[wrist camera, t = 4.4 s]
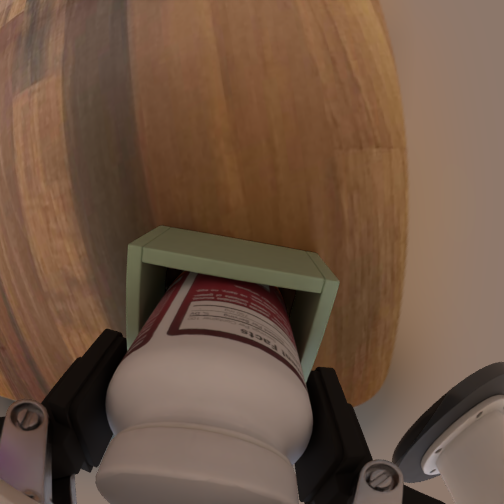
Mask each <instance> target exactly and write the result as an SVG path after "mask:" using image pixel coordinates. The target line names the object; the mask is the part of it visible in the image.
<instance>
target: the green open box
mask: <svg viewBox="0 0 504 504" xmlns="http://www.w3.org/2000/svg"><path fill="white" fill-rule="evenodd" d="M167 267H169V268H174V269H179V270H185V271H190V272H195V273H201V274H206V275H212V276H217V277H223V278H228V279H234V280H240V281H246V282H251V283H257V284H263V285H269V286H275V287H282V288H288V289H294V290H296V294H295V298H294V302H293V306H292V310H291V314H290V317H289V321H290V325H291V329H292V333H293V337H294V340H295V344H296V348H297V352H298V356H299V360H300V364H301V368H302V371H303V375H304V379H305V383H306V382H307V379H308V376H309V374H310V372H311V369H312V366H313V364H314V361H315V358H316V355H317V352H318V350H319V347H320V344H321V341H322V338H323V335H324V332H325V329H326V326H327V323H328V320H329V317H330V313H331V310H332V307H333V304H334V300H335V297H336V294H337V290H338V287H339V283H340V281H339V280H338V279H337V278H336V276H335V275H334V274H333V273H332V271H331V270H330V269H329V268H328V266H327V265H326V264H325V263H324V261H323V260H322V259H321V258H320V256H319V255H318V254H317V253H314V252H308V251H307V252H305V251H303V250H297V249H292V248H286V247H281V246H275V245H270V244H264V243H259V242H253V241H247V240H242V239H236V238H230V237H225V236H219V235H213V234H208V233H202V232H196V231H190V230H184V229H179V228H173V227H172V228H170V227H167V226H159V227H157V228H155V229H153V230H152V231H150V232H148V233H147V234H145V235H143V236H141V237H140V238H138V239H136V240H135V241H133V242H131V243H130V244H129V245H128V255H127V278H126V336H127V351H128V350H129V348H130V347H131V345H132V343H133V342H134V340H135V339H136V337H137V335H138V334H139V332H140V331H141V329H142V328H143V326H144V325H145V323H146V322H147V320H148V319H149V317H150V315H151V314H152V312H153V311H154V309H155V308H156V306H157V305H158V303H159V302H160V300H161V299H162V297H163V296H164V294H165V281H166V270H167Z"/></svg>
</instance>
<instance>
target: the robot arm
mask: <svg viewBox="0 0 504 504" xmlns="http://www.w3.org/2000/svg"><path fill="white" fill-rule="evenodd" d="M126 353H127V340H126V338H124V337H123V335H122V333H121V332H117V331H113V330H110V329H105V330H104V331H103V333H102V334H101V335H100V336H99V337H98V338H97V340H96V341H95V342H94V343H93V344H92V346H91V347H90V348H89V349H88V350H87V352H86V353H85V354H84V355H83V356H82V357H79V358H77V359H76V360H75V361H74V363H73V364H72V365H71V366H70V367H69V369H68V370H67V371H66V372H65V373H64V375H63V376H62V377H61V378H60V380H59V381H58V382H57V383H56V385H55V386H54V387H53V388H52V390H51V391H50V392H49V394H48V395H47V396H46V397H45V399H44V400H43V401H42V403H39V402H38V401H36V400H32V399H21V400H17V401H15V402H14V403H12V404H11V405H10V406H9V408H8V410H7V413H6V416H5V417H0V504H77V501H76V488H75V474H78V473H79V471H80V469H83V470H85V471H88V472H91V470H92V468H93V466H94V467H97V466H99V464H100V462H101V459H102V457H103V455H104V453H105V451H106V448H107V446H108V444H109V442H110V439H111V437H112V435H113V432H112V430H111V428H110V425H109V422H108V419H107V414H106V405H105V403H106V394H107V389H108V386H109V383H110V381H111V379H112V377H113V375H114V373H115V371H116V369H117V367H118V365H119V364H120V362H121V360H122V359H123V357H124V356H125V354H126ZM306 387H307V390H308V394H309V399H310V404H311V409H312V413H313V430H312V435H311V438H310V441H309V443H308V446H307V448H306V449H305V451H304V453H303V454H302V455H301V457H300V458H299V459H298V460H297V461H296V463H295V470H296V478H297V486H298V494H299V500H300V501H301V502H304V503H305V504H445V503H443V502H442V501H440V500H437V499H434V498H432V497H430V496H428V495H425V494H423V493H420V492H418V491H416V490H414V489H412V488H410V487H408V486H406V485H403V482H404V480H403V474H402V472H401V470H400V469H399V468H398V467H397V466H396V465H395V464H393V463H392V462H389V461H386V460H373V459H372V456H371V454H370V451H369V448H368V446H367V443H366V440H365V438H364V435H363V432H362V430H361V427H360V424H359V422H358V419H357V417H356V414H355V412H354V409H353V407H352V405H351V404H349V403H347V401H346V398H345V396H344V393H343V390H342V388H341V385H340V383H339V380H338V378H337V375H336V372H335V370H334V369H333V368H326V367H317V368H316V370H315V371H313V370H312V371H311V372H310V374H309V376H308V379H307V382H306ZM421 467H422V470H423V471H424V473H425V474H427V475H435V474H439V473H440V474H441V476H442V478H443V480H444V482H445V484H446V486H447V488H448V490H449V492H450V494H451V496H452V498H453V501H454V503H455V504H504V395H495V396H492V397H490V398H488V399H486V400H484V401H482V402H481V403H479V404H477V405H476V406H474V407H473V408H472V409H470V410H469V411H468V412H466V413H465V414H464V415H462V416H461V417H460V418H459V419H458V420H456V421H455V422H454V423H453V424H452V425H451V426H449V427H448V428H447V429H446V430H445V431H444V432H443V433H442V434H441V435H440V436H439V437H438V438H437V439H436V440H435V441H434V443H433V444H432V445H431V446H430V447H429V449H428V450H427V451H426V453H425V454H424V456H423V458H422V461H421Z"/></svg>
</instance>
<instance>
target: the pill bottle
mask: <svg viewBox="0 0 504 504" xmlns="http://www.w3.org/2000/svg"><path fill="white" fill-rule="evenodd" d="M105 405H106V414H107V419H108V422H109V425H110V428H111V430H112V432H113V434H114V436H115V437H114V438H113V439H112V440H111V442H110V443H109V446H108V448H107V450H106V453H105V455H104V457H103V460H102V462H101V464H100V467H99V469H98V472H97V474H96V486H97V488H98V490H99V492H100V493H101V495H102V496H103V497H104V498H105V499H106V500H107V501H108V502H109V503H110V504H299V502H298V493H297V478H296V474H295V472H294V470H293V467H292V465H293V464H294V463H296V461H297V460H298V459H299V458H300V457H301V455H302V454H303V453H304V451H305V449H306V448H307V446H308V443H309V441H310V438H311V435H312V430H313V413H312V409H311V404H310V399H309V394H308V390H307V387H306V383H305V379H304V375H303V371H302V368H301V364H300V360H299V356H298V352H297V348H296V344H295V340H294V337H293V333H292V329H291V325H290V321H289V318H288V314H287V310H286V306H285V303H284V300H283V297H282V295H281V293H280V291H279V289H278V287H275V286H269V285H263V284H257V283H251V282H246V281H240V280H234V279H228V278H223V277H217V276H212V275H206V274H201V273H195V272H190V271H185V270H184V271H183V272H182V273H181V274H180V275H179V276H178V277H177V278H176V279H175V280H174V282H173V283H172V284H171V285H170V287H169V288H168V290H167V291H166V293H165V294H164V296H163V297H162V299H161V300H160V302H159V303H158V305H157V306H156V308H155V309H154V311H153V312H152V314H151V315H150V317H149V319H148V320H147V322H146V323H145V325H144V326H143V328H142V329H141V331H140V332H139V334H138V335H137V337H136V339H135V340H134V342H133V343H132V345H131V347H130V348H129V350H128V351H127V353H126V354H125V356H124V357H123V359H122V360H121V362H120V364H119V365H118V367H117V369H116V371H115V373H114V375H113V377H112V379H111V381H110V383H109V386H108V389H107V394H106V403H105Z"/></svg>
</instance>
